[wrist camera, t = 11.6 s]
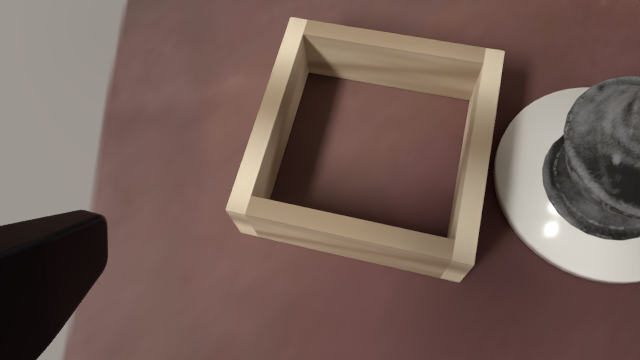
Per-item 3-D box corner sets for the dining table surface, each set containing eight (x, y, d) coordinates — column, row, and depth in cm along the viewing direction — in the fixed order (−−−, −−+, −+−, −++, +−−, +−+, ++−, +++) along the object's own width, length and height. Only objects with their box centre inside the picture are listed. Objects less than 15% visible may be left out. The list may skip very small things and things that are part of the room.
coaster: (711, 307, 21) (721, 304, 20) (480, 256, 22) (483, 252, 21) (706, 113, 24) (714, 106, 23) (505, 79, 25) (508, 72, 25)
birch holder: (459, 282, 22) (474, 265, 19) (241, 232, 23) (225, 210, 20) (488, 89, 25) (504, 50, 22) (297, 56, 27) (290, 17, 24)
